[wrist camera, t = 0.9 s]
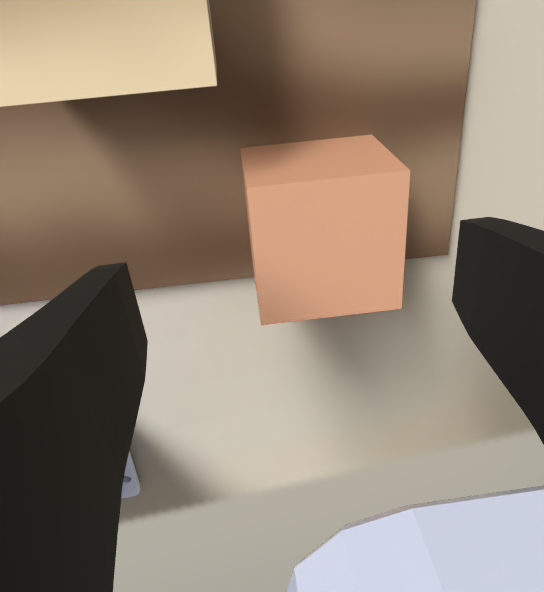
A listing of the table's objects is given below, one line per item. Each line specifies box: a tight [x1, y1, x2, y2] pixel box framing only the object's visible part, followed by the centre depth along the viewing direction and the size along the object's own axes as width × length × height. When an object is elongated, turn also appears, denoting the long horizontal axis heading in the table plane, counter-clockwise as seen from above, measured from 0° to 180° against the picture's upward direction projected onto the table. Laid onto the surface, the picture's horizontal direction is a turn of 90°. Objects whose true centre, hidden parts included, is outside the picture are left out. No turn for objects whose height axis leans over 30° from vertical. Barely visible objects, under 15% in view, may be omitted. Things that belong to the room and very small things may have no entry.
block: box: [240, 135, 410, 325], centre depth 19 cm, size 5×5×4 cm
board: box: [0, 0, 476, 305], centre depth 18 cm, size 15×20×1 cm
